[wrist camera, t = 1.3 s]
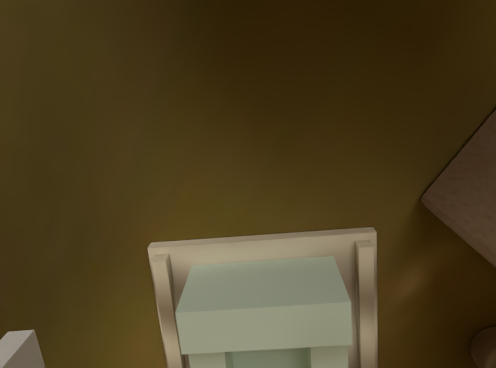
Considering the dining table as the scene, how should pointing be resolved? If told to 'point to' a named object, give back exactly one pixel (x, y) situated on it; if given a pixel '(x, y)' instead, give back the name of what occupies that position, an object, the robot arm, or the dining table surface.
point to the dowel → (484, 348)
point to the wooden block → (470, 192)
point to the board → (273, 248)
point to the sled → (266, 315)
